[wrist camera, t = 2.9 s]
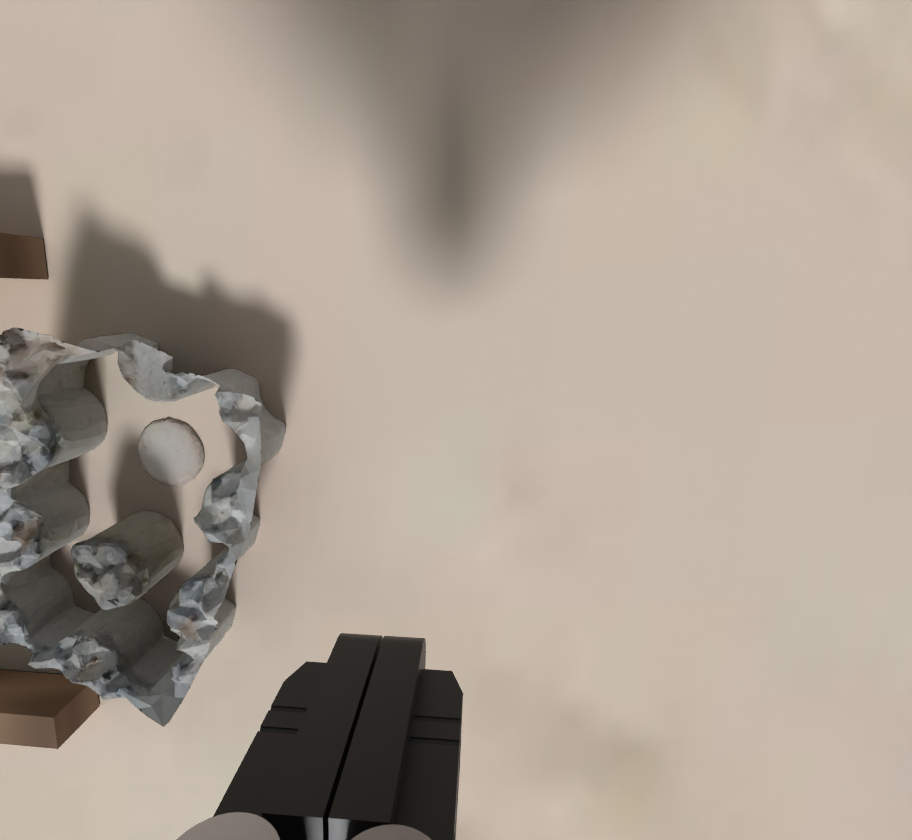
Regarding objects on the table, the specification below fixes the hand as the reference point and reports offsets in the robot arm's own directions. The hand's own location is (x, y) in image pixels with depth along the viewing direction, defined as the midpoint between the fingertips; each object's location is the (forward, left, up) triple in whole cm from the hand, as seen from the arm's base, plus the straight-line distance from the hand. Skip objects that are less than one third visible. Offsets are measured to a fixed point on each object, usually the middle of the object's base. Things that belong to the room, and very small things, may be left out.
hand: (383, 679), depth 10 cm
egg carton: (+9, 0, -9) cm, 13 cm away
